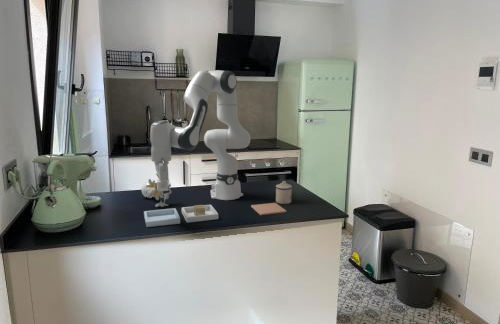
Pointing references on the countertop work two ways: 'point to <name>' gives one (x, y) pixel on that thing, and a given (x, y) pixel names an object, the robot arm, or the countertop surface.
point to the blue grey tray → (161, 217)
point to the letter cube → (161, 187)
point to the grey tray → (190, 217)
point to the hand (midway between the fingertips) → (162, 185)
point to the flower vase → (155, 192)
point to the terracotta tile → (268, 208)
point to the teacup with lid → (283, 193)
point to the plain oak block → (199, 210)
